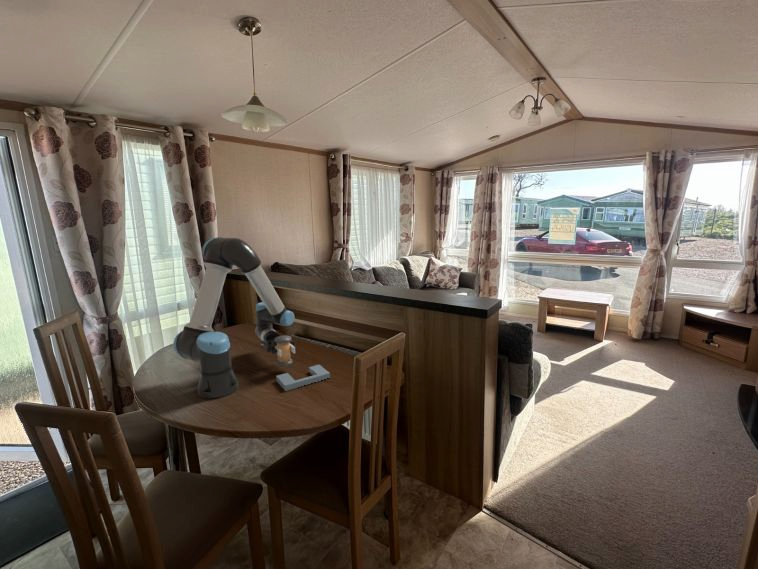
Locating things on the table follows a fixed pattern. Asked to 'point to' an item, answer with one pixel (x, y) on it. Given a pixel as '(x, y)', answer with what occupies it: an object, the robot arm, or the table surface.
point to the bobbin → (283, 350)
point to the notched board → (290, 383)
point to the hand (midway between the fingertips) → (287, 351)
